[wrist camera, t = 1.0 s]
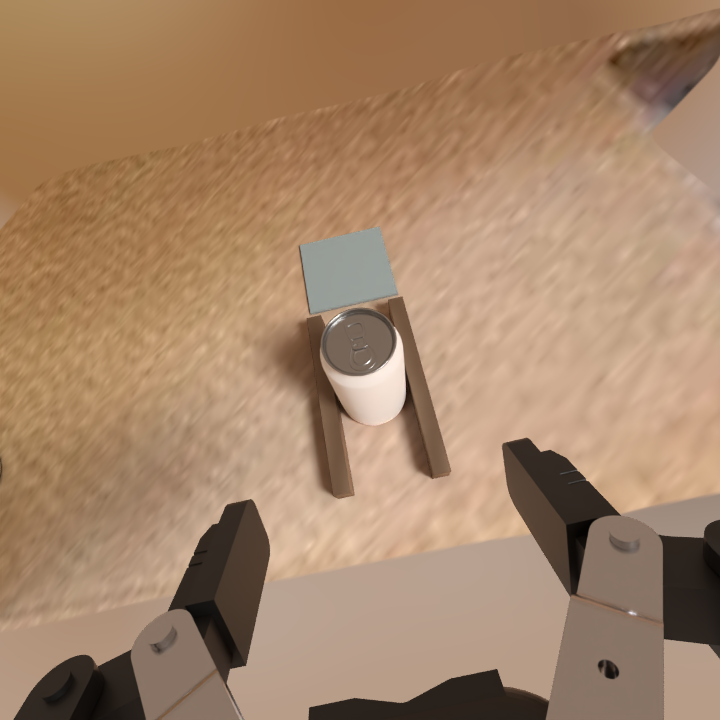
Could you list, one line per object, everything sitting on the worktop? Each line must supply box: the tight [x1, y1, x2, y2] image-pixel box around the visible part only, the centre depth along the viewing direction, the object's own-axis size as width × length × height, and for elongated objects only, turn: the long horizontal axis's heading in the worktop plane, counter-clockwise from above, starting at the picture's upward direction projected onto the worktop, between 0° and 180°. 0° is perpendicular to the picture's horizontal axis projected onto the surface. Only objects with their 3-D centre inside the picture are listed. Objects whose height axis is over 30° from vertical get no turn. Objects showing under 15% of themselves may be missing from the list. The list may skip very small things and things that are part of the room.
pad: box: [300, 227, 398, 314], centre depth 47 cm, size 10×10×1 cm
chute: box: [307, 297, 451, 499], centre depth 39 cm, size 10×18×2 cm, turn 11°
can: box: [320, 308, 406, 426], centre depth 34 cm, size 6×6×12 cm
